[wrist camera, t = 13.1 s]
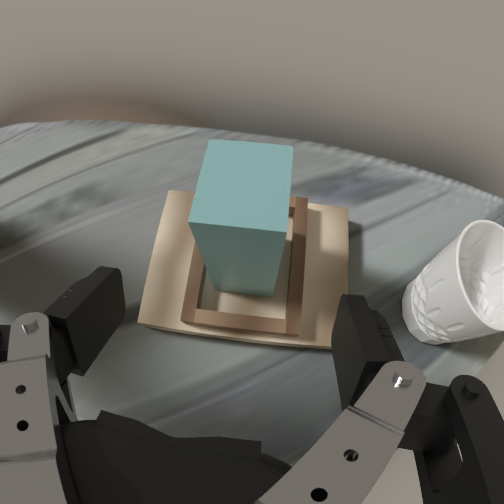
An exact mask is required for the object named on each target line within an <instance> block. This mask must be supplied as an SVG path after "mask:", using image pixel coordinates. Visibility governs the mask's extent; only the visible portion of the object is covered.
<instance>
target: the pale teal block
mask: <svg viewBox="0 0 504 504" xmlns="http://www.w3.org/2000/svg"><path fill="white" fill-rule="evenodd" d="M292 159H293V146H285V145H276V144H266V143H255V142H243V141H230V140H213V139H209V142H208V146H207V150H206V153H205V157H204V160H203V164H202V168H201V172H200V175H199V179H198V183H197V187H196V191H195V195H194V199H193V203H192V207H191V211H190V215H189V219H188V223H189V226H190V229H191V231H192V234H193V236H194V239H195V241H196V244H197V247H198V249H199V252H200V254H201V257H202V259H203V262H204V264H205V267H206V269H207V271H208V274H209V276H210V279H211V281H212V284H213V286H214V289H215V290H219V291H227V292H235V293H243V294H251V295H260V296H269V297H273V293H274V288H275V284H276V280H277V275H278V271H279V266H280V262H281V257H282V253H283V248H284V244H285V239H286V234H287V226H288V214H289V201H290V188H291V174H292Z"/></svg>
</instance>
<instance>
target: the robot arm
mask: <svg viewBox="0 0 504 504" xmlns="http://www.w3.org/2000/svg"><path fill="white" fill-rule="evenodd" d="M124 314H125V299H124V292H123V284H122V275H121V272H120V270H119V269H118V268H111V267H104V266H100V267H98V268H97V269H96V270H95V271H94V272H93V273H91V274H90V275H89V276H88V277H86V278H84V279H82V280H80V281H78V282H76V283H75V284H74V285H73V286H71V287H70V288H69V290H68V291H66V292H65V293H64V294H63V295H62V296H60V297H59V298H58V299H57V300H56V301H55V302H54V303H53V304H52V305H51V306H50V307H49V308H48V309H47V310H46V311H45V312H44V313H39V312H30V313H26V314H23V315H21V316H19V317H18V318H16V319H15V320H14V321H13V323H12V325H0V504H361V503H362V502H363V500H364V499H365V498H366V496H367V495H368V493H369V492H370V490H371V489H372V487H373V486H374V484H375V482H376V481H377V480H378V478H379V476H380V475H381V473H382V472H383V470H384V469H385V467H386V465H387V464H388V462H389V460H390V458H391V457H392V455H393V453H394V452H395V450H396V448H397V447H398V448H403V449H409V450H413V452H414V456H415V461H416V466H417V471H418V476H419V481H420V487H421V492H422V498H423V504H504V420H503V418H502V416H501V414H500V412H499V410H498V408H497V406H496V404H495V402H494V400H493V398H492V396H491V394H490V392H489V390H488V388H487V387H486V385H485V384H483V382H482V381H480V380H479V379H477V378H475V377H473V376H469V375H460V376H457V377H455V378H454V379H453V381H452V382H451V384H450V386H449V387H446V386H441V385H436V384H431V383H428V382H426V378H425V376H424V374H423V373H422V371H421V370H420V369H418V368H417V367H416V366H414V365H412V364H410V363H408V362H405V361H404V359H403V356H402V354H401V352H400V350H399V347H398V345H397V343H396V341H395V339H394V338H393V334H392V332H391V330H389V326H388V324H387V322H386V319H385V318H384V317H383V316H382V315H381V314H380V313H378V312H377V311H376V310H370V309H369V307H368V304H367V302H366V300H365V298H364V296H363V295H350V294H342V296H341V298H340V301H339V305H338V310H337V314H336V318H335V322H334V326H333V330H332V335H331V349H332V354H333V359H334V365H335V370H336V376H337V381H338V387H339V393H340V398H341V404H342V410H343V412H342V413H341V415H340V416H339V417H338V418H337V419H336V421H335V422H334V423H333V424H332V425H331V426H330V428H329V429H328V430H327V431H326V432H325V433H324V434H323V436H322V437H321V438H320V439H319V440H318V441H317V442H316V443H315V444H314V445H313V447H312V448H311V449H310V450H309V451H308V452H307V453H306V454H305V455H304V456H303V457H302V458H301V459H300V460H299V461H298V462H297V463H296V464H295V465H294V466H293V467H291V466H289V465H288V464H286V463H284V462H282V461H281V460H279V459H276V458H274V457H272V456H269V455H266V454H263V453H261V443H262V441H251V440H242V439H233V438H226V437H199V438H174V437H171V436H168V435H166V434H164V433H162V432H160V431H158V430H156V429H153V428H151V427H149V426H147V425H145V424H143V423H141V422H139V421H137V420H134V419H131V418H127V417H123V416H120V415H116V414H113V413H109V412H106V411H103V410H101V412H100V414H99V416H98V418H97V419H96V420H82V421H78V420H77V415H76V411H75V406H74V402H73V397H72V392H71V386H70V382H69V379H68V375H69V374H70V373H74V374H77V375H80V376H84V375H85V373H86V372H87V370H88V369H89V367H90V366H91V364H92V363H93V361H94V360H95V358H96V357H97V356H98V354H99V353H100V351H101V350H102V348H103V347H104V345H105V344H106V343H107V341H108V340H109V338H110V337H111V336H112V334H113V333H114V331H115V330H116V329H117V327H118V326H119V324H120V323H121V322H122V320H123V318H124ZM457 443H458V445H459V448H460V450H461V454H462V459H463V461H462V460H461V457H460V454H459V450H458V447H457Z"/></svg>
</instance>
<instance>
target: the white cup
mask: <svg viewBox="0 0 504 504" xmlns="http://www.w3.org/2000/svg"><path fill="white" fill-rule="evenodd" d="M402 316H403V319H404V321H405V323H406V326H407V328H408V330H409V332H410V333H411V334H412V335H414V336H415V337H416V338H417V339H418V340H419V341H420V342H423V343H428V344H432V345H437V344H442V343H446V342H458V341H463V340H470V339H475V338H479V337H483V336H488V335H492V334H496V333H500V332H504V228H503V227H502V226H500V225H499V224H497V223H495V222H492V221H489V220H477V221H474V222H472V223H470V224H469V225H468V226H467V227H466V228H465V229H464V230H463V231H462V232H461V233H460V234H459V235H458V236H457V237H456V238H455V239H454V240H453V241H452V242H451V243H450V244H448V245H447V246H446V247H445V248H444V249H443V250H442V251H441V252H440V253H439V254H438V255H437V256H436V257H435V258H434V259H433V260H432V261H431V262H430V263H429V264H428V265H427V266H426V267H424V268H423V270H422V272H421V273H420V274H419V275H418V276H416V277H415V278H414V279H413V280H412V281H411V282H410V283H409V284H408V285H407V287H406V290H405V292H404V295H403V298H402Z"/></svg>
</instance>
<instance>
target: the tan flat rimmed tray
mask: <svg viewBox="0 0 504 504" xmlns="http://www.w3.org/2000/svg"><path fill="white" fill-rule="evenodd" d="M194 195H195V192H186V191H170V190H169V192H168V196H167V199H166V203H165V206H164V210H163V214H162V217H161V221H160V225H159V229H158V232H157V236H156V240H155V244H154V248H153V252H152V256H151V261H150V265H149V269H148V274H147V278H146V283H145V287H144V292H143V297H142V301H141V306H140V311H139V316H138V323H140V324H142V325H143V326H145V327H150V328H156V329H162V330H167V331H173V332H179V333H185V334H192V335H198V336H205V337H212V338H220V339H227V340H235V341H243V342H252V343H261V344H270V345H280V346H291V347H303V348H317V349H331V335H332V330H333V326H334V322H335V318H336V314H337V310H338V305H339V301H340V298H341V296H342V294H348V266H349V249H348V208H344V207H336V206H328V205H320V204H312V203H308V198H301V197H292V196H290V201H289V214H288V226H287V234H286V239H285V244H284V248H283V253H282V257H281V262H280V266H279V271H278V275H277V280H276V284H275V288H274V293H273V297H269V296H260V295H251V294H243V293H235V292H227V291H219V290H215V289H214V286H213V284H212V281H211V279H210V276H209V274H208V271H207V269H206V267H205V264H204V262H203V259H202V257H201V254H200V252H199V249H198V247H197V244H196V241H195V239H194V236H193V234H192V231H191V229H190V226H189V223H188V219H189V215H190V211H191V207H192V203H193V199H194Z"/></svg>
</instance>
